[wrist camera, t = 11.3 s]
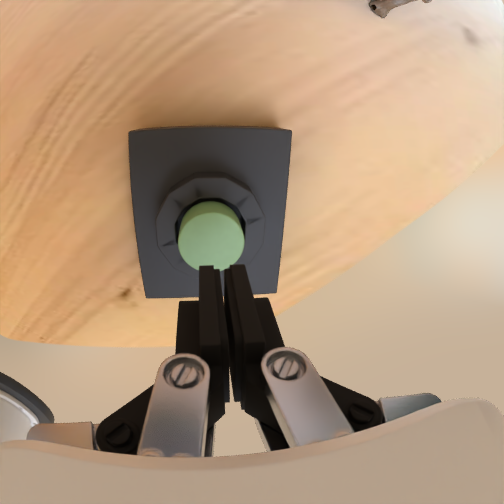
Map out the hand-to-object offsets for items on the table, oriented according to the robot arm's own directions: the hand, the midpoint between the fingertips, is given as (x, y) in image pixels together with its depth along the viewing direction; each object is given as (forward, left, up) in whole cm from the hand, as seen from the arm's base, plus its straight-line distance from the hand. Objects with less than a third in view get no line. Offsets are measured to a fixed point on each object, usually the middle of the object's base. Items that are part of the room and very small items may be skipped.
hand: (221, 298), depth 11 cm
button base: (0, 0, -12) cm, 12 cm away
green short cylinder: (0, 0, -7) cm, 7 cm away
